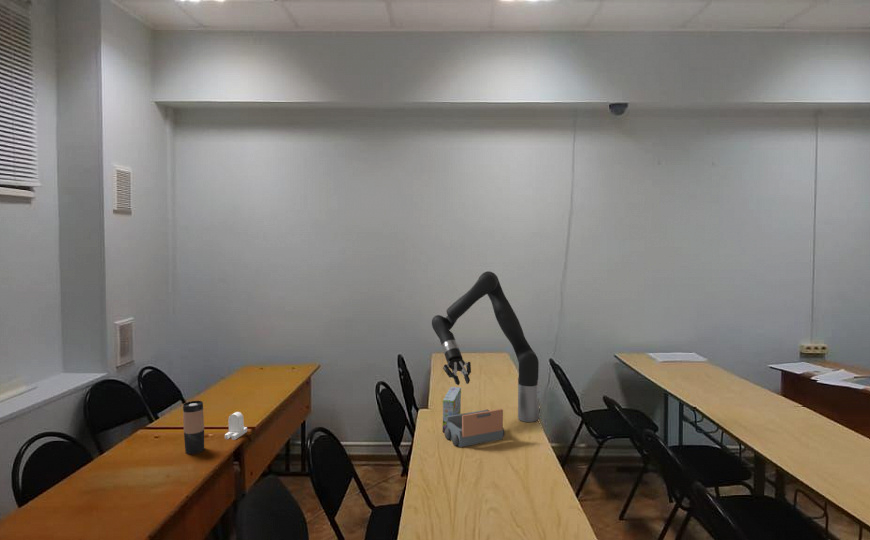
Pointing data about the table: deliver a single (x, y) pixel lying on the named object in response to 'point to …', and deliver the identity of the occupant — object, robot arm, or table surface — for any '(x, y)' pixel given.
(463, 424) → the tailgate
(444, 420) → the snack box
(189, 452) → the travel mug
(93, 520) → the table surface
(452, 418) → the trailer
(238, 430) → the cable organizer
